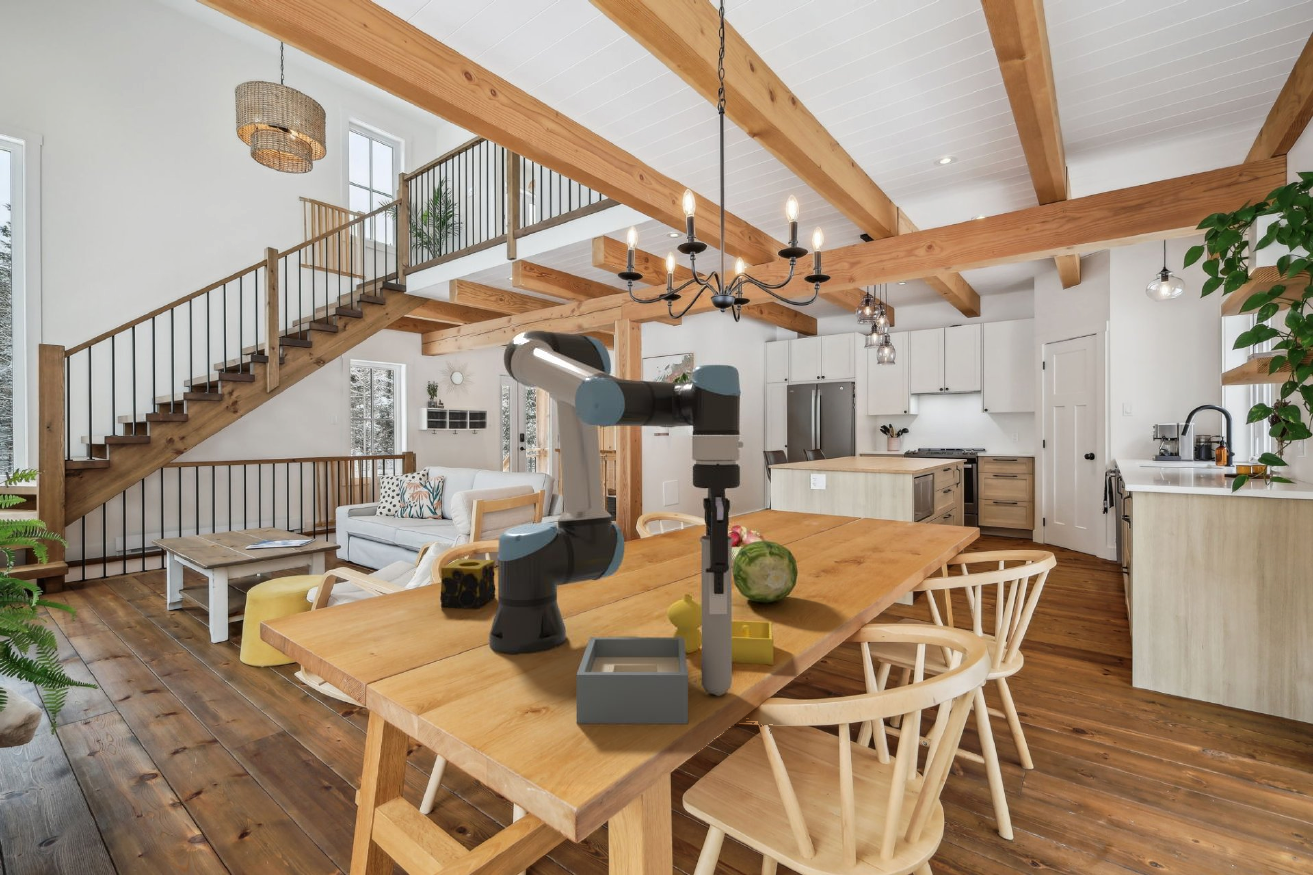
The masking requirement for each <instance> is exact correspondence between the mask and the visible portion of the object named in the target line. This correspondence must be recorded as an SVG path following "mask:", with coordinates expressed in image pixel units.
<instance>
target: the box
mask: <svg viewBox="0 0 1313 875" xmlns="http://www.w3.org/2000/svg"><path fill="white" fill-rule="evenodd" d="M575 677H576V681H575V682H576V684H575V685H576V688H575V689H576V694H575V695H576V698H575V699H576V702H575V703H576V724H587V725H588V724H595V725H596V724H617V725H620V724H623V725H625V724H627V725H629V724H631V725H632V724H633V725H634V724H635V725H638V724H639V725H642V724H643V725H647V724H648V725H649V724H650V725H659V724H660V725H663V724H666V725H668V724H669V725H676V724H677V725H688V724H689V695H688V694H689V673H688V664H687V653H686V651H685V641H684V637H673V636H672V637H670V636H669V637H668V636H666V637H660V636H659V637H655V636H654V637H651V636H650V637H648V636H647V637H645V636H644V637H642V636H641V637H638V636H636V637H635V636H634V637H632V636H630V637H628V636H626V637H624V636H622V637H621V636H620V637H616V636H614V637H611V636H610V637H609V636H608V637H607V636H606V637H605V636H603V637H602V636H601V637H599V636H598V637H597V636H595V637H594V636H593V637H591V636H590V637H589V640H588V642H587V646H586V648H585V650H584V653H583V656H582V659H581V661H580V664H579V667H578V670H577V673H576V676H575Z"/></svg>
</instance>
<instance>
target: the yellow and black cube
mask: <svg viewBox="0 0 1313 875" xmlns="http://www.w3.org/2000/svg"><path fill="white" fill-rule="evenodd" d="M495 562H496V561H495V560H493V559H471V558H458V559H456V560H454V561H451V562H450V563H448V564H446V565H443V566H442V567H440V572H441V574H440V576H441V582H440V584H441V585H440V596H439V598H440V599H439V600H440V607H441V608H445V609H464V610H465V609H467V610H469V609H470V610H479V609H481V608H482V607H484V606H486V605H487V604H488V603H490V602H491V601H492V600H494V599H496V585H495Z"/></svg>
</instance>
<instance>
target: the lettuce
mask: <svg viewBox="0 0 1313 875" xmlns="http://www.w3.org/2000/svg"><path fill="white" fill-rule="evenodd" d="M732 564H733V565H732V577H733V583H734V585H735V587H736V588H737V591H738V592H739V593H740V595H741V596H743V597H746V598H747V599H749V600H750V601H754V602H758V603H771V602H772V603H773V602H779V601H781V600H782V599H785V598H786V597H787V596H789V595H790V594H791V592H792V591H793V589H794V588H795V587H796V585H797V580H798V573H799V571H798V567H797V561H796V558H795V557H794V555H793V553H792V552H791V551H790V549H788V548H786V547H784V546H783V545H781V544H780V543H778V542H773V541H768V540H767V541H766V540H760V541H754V542H750V543H747V545H745V546H743V547H742V548H740V549H739V551H738V552H737V554H736V556H735V557H734V558H733V563H732Z"/></svg>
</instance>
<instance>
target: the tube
mask: <svg viewBox="0 0 1313 875" xmlns="http://www.w3.org/2000/svg"><path fill="white" fill-rule="evenodd" d="M699 541H700V542H701V604H702V625H701V635H702V644H701V685H702V687H703V689H704V691H705V692H706V693H709V694H710V695H711V694H712V695H715V696H717V697H720V696H722V695H724V694H726V693H728V692H729V690H730V688H731V686H732V681H733V678H732V677H733V672H732V670H733V667H732V666H733V665H732V664H733V662H732V620H733V619H732V618H733V616H732V613H733V610H732V609H733V608H732V607H733V605H732V604H733V602H732V601H733V600H732V599H733V598H732V596H733V595H732V594H733V593H732V590H733V589H732V577H733V572H732V570H733V565H732V564H733V563H732V561H733V560H732V558H733V557H732V556H733V555H732V547H733V546H732V543H733V541H734V537H732V536H730V535H728V565H729V569H728V571H727V614H709V573H706V568H710V536H708V535H707V536H706V535H702V536H700V538H699Z"/></svg>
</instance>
